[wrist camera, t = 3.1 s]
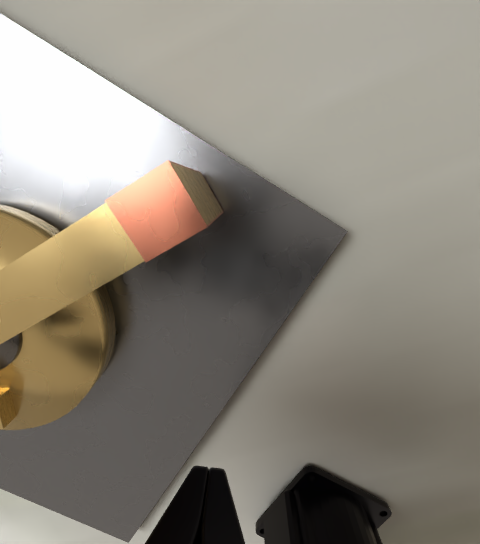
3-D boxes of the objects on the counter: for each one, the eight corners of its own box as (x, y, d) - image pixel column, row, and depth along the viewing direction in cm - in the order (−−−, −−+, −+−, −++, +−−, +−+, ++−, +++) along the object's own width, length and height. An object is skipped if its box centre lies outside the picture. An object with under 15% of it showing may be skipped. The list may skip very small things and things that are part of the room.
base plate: (340, 228, 14) (349, 232, 13) (134, 525, 20) (127, 546, 19) (-174, -94, 11) (-224, -128, 10) (-230, 368, 17) (-264, 381, 16)
